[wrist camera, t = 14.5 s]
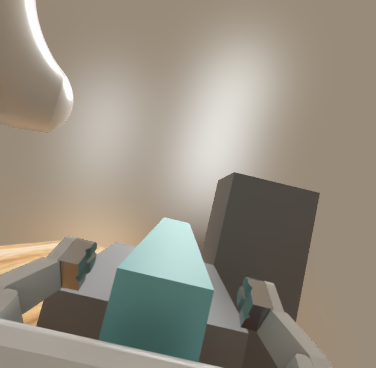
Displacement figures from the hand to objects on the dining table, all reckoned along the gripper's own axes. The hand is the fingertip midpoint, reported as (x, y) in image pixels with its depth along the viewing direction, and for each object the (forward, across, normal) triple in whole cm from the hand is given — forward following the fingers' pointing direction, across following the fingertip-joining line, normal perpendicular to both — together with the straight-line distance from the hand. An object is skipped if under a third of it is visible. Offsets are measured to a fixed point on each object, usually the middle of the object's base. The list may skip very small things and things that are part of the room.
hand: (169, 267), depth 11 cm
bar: (+6, 0, +8) cm, 10 cm away
